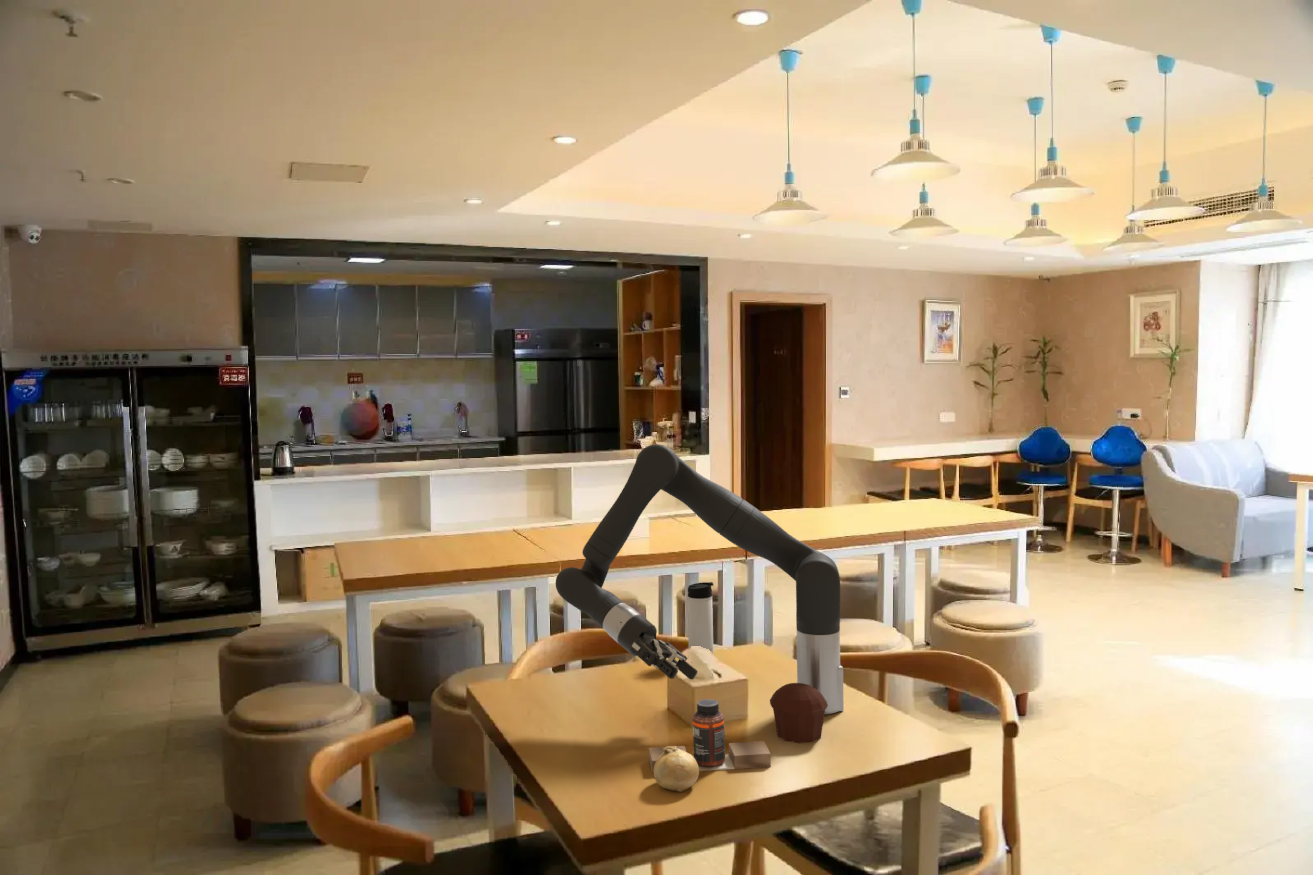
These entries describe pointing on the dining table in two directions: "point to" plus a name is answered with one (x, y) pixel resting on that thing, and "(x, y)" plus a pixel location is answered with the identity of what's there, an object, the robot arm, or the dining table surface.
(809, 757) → the dining table surface
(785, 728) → the muffin
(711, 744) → the supplement bottle
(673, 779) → the onion
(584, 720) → the dining table surface
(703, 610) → the travel mug
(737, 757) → the rail
